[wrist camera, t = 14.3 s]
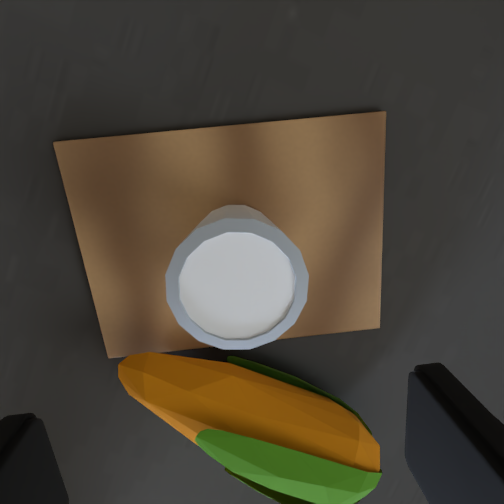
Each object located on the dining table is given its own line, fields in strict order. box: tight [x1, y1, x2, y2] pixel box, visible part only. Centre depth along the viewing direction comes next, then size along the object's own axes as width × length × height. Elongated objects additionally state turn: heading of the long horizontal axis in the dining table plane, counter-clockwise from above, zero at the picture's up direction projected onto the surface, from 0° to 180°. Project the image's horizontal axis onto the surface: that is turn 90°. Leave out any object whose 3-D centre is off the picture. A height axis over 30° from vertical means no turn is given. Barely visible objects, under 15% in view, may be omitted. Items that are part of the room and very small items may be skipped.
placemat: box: [53, 111, 386, 358], centre depth 23 cm, size 20×15×1 cm
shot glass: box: [165, 205, 309, 350], centre depth 20 cm, size 7×7×7 cm
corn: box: [118, 352, 382, 504], centre depth 23 cm, size 7×8×20 cm
